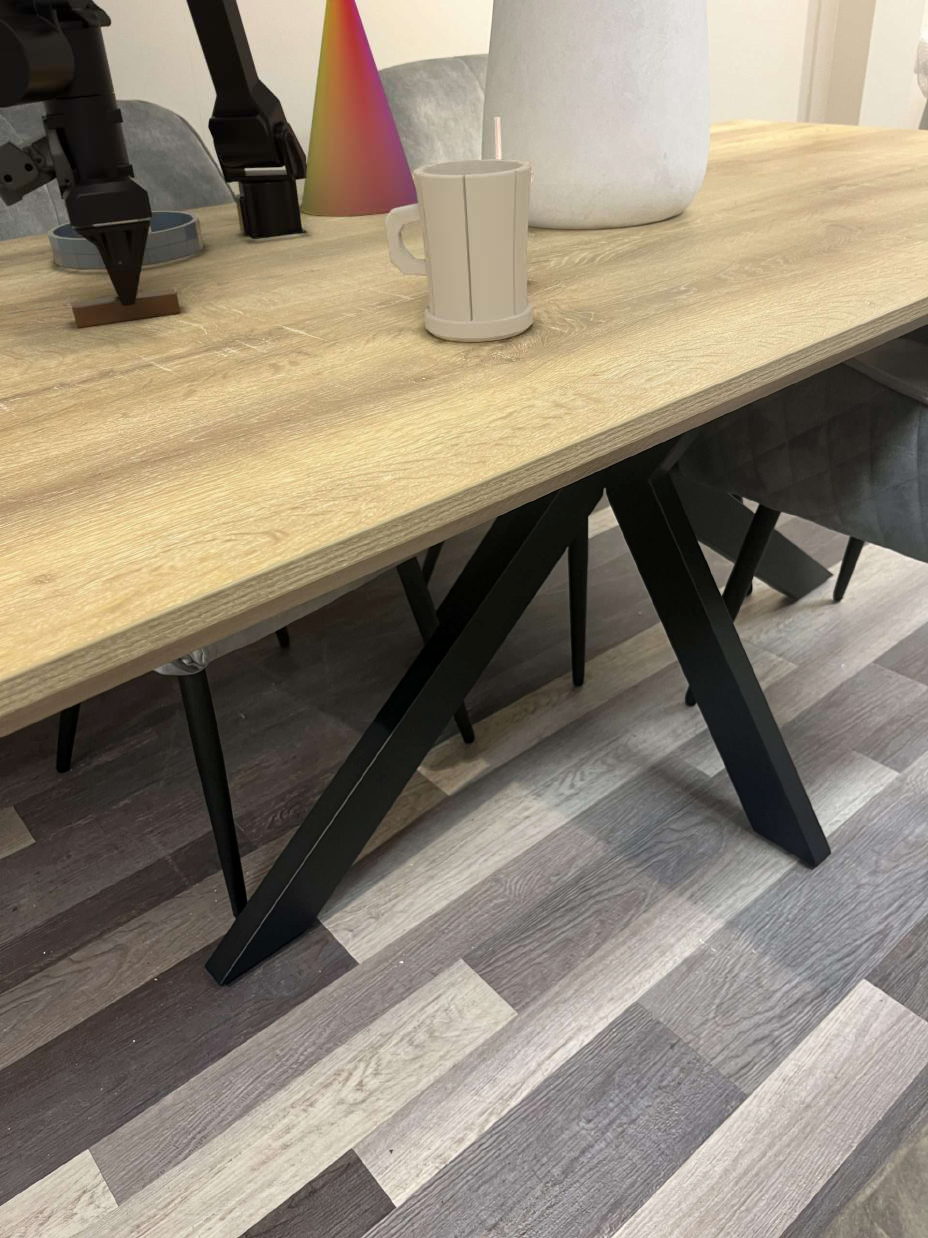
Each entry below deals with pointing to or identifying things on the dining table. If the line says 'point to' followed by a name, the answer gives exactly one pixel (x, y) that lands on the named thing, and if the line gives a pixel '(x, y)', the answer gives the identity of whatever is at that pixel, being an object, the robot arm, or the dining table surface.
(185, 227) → the bowl
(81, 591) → the dining table surface
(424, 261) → the cup
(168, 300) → the stick
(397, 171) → the decorative cone
